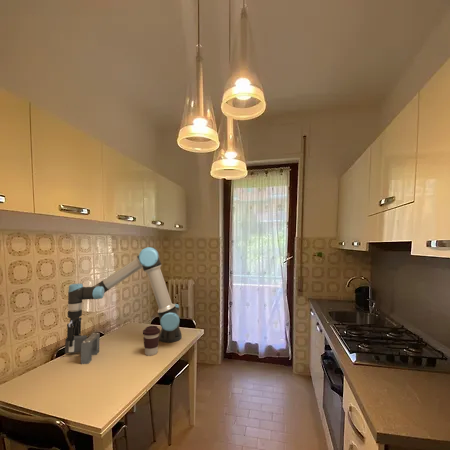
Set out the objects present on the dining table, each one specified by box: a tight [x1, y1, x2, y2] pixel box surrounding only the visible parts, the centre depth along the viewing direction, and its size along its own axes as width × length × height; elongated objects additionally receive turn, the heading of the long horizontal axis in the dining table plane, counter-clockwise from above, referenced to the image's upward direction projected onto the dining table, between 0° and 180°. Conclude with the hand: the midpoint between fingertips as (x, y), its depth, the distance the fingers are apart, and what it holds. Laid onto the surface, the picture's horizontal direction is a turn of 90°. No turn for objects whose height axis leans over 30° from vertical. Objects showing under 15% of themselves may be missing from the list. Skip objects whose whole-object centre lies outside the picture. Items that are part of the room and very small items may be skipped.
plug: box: [64, 334, 88, 354], centre depth 155 cm, size 13×5×8 cm, turn 98°
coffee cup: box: [142, 325, 161, 357], centre depth 154 cm, size 10×10×15 cm
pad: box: [63, 352, 81, 357], centre depth 154 cm, size 9×6×1 cm, turn 96°
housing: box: [80, 332, 100, 365], centre depth 149 cm, size 4×16×11 cm, turn 6°
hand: (73, 349), depth 154 cm, fingers closed on plug, 5 cm apart
